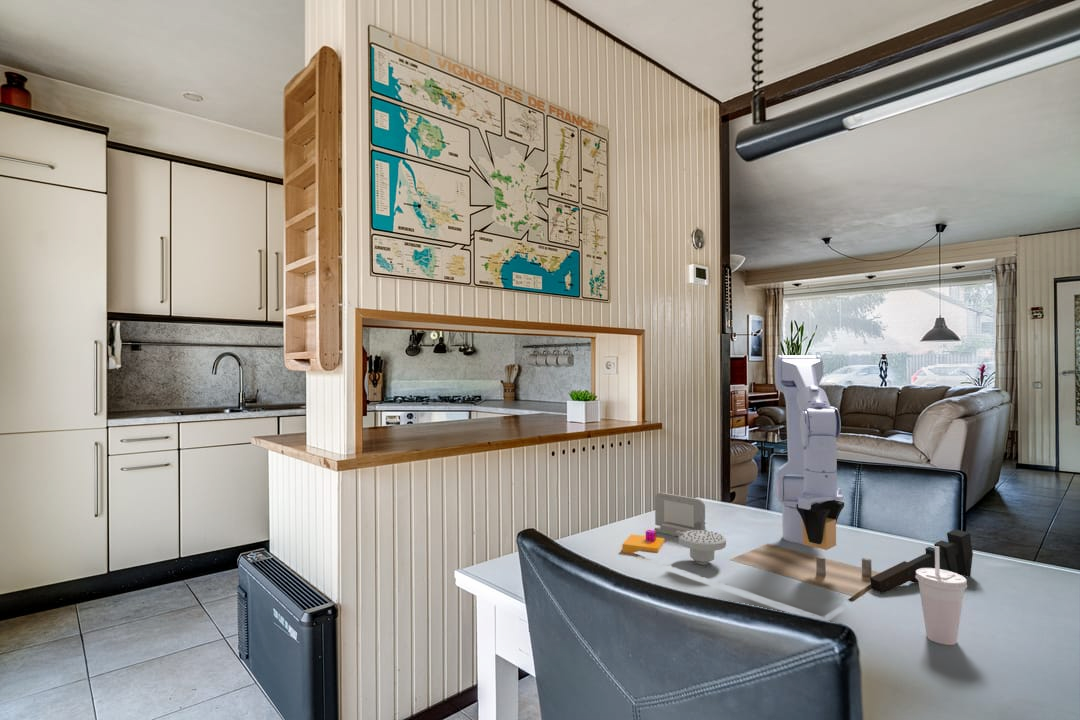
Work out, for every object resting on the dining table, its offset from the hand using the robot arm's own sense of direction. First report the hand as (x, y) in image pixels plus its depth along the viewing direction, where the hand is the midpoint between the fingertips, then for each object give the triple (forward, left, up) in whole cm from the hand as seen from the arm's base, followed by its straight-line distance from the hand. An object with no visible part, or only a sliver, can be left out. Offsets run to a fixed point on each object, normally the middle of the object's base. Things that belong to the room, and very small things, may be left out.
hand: (820, 540), depth 107 cm
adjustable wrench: (-14, +13, -8) cm, 21 cm away
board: (-2, -4, -8) cm, 9 cm away
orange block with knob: (+12, -34, -8) cm, 37 cm away
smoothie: (+10, +22, -8) cm, 25 cm away
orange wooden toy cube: (0, 0, -1) cm, 1 cm away
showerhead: (+12, -19, -8) cm, 24 cm away
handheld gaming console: (-6, -35, -8) cm, 36 cm away
